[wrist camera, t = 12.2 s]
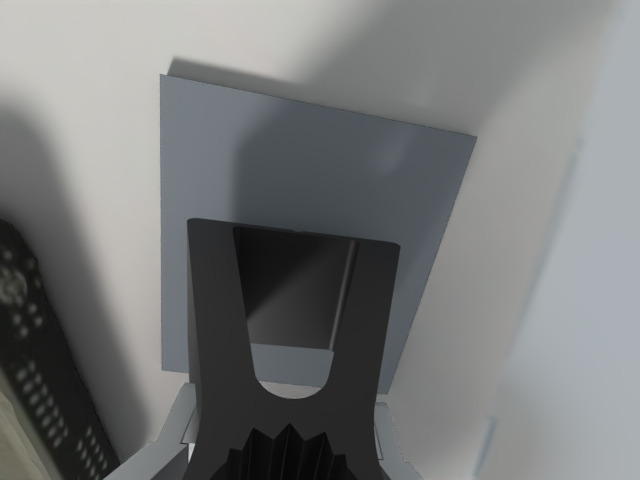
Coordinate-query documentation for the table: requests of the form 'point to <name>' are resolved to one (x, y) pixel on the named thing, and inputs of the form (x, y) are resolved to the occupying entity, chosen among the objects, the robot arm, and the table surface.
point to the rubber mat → (300, 198)
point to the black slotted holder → (285, 330)
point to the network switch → (41, 383)
